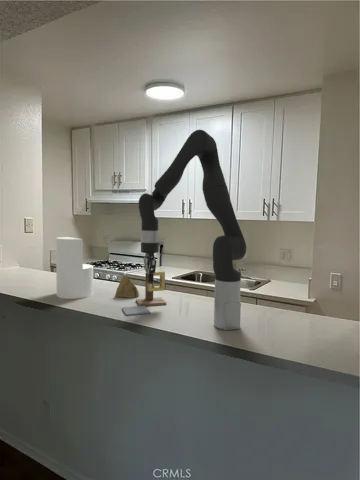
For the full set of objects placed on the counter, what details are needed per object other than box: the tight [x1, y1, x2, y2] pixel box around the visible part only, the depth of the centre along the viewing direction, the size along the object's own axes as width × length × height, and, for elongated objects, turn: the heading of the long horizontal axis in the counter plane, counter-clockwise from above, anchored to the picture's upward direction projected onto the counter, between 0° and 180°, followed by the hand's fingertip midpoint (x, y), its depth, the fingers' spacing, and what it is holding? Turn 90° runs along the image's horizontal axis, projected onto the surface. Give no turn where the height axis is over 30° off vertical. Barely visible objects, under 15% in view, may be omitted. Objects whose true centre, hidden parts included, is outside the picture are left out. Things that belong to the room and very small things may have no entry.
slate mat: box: [121, 305, 152, 317], centre depth 136 cm, size 10×10×1 cm
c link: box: [147, 270, 166, 292], centre depth 141 cm, size 3×7×8 cm, turn 109°
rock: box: [114, 275, 140, 298], centre depth 160 cm, size 11×9×10 cm
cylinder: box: [55, 236, 94, 300], centre depth 162 cm, size 17×17×28 cm
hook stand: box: [135, 276, 167, 307], centre depth 146 cm, size 14×12×13 cm
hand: (149, 281), depth 140 cm, fingers closed on c link, 3 cm apart
